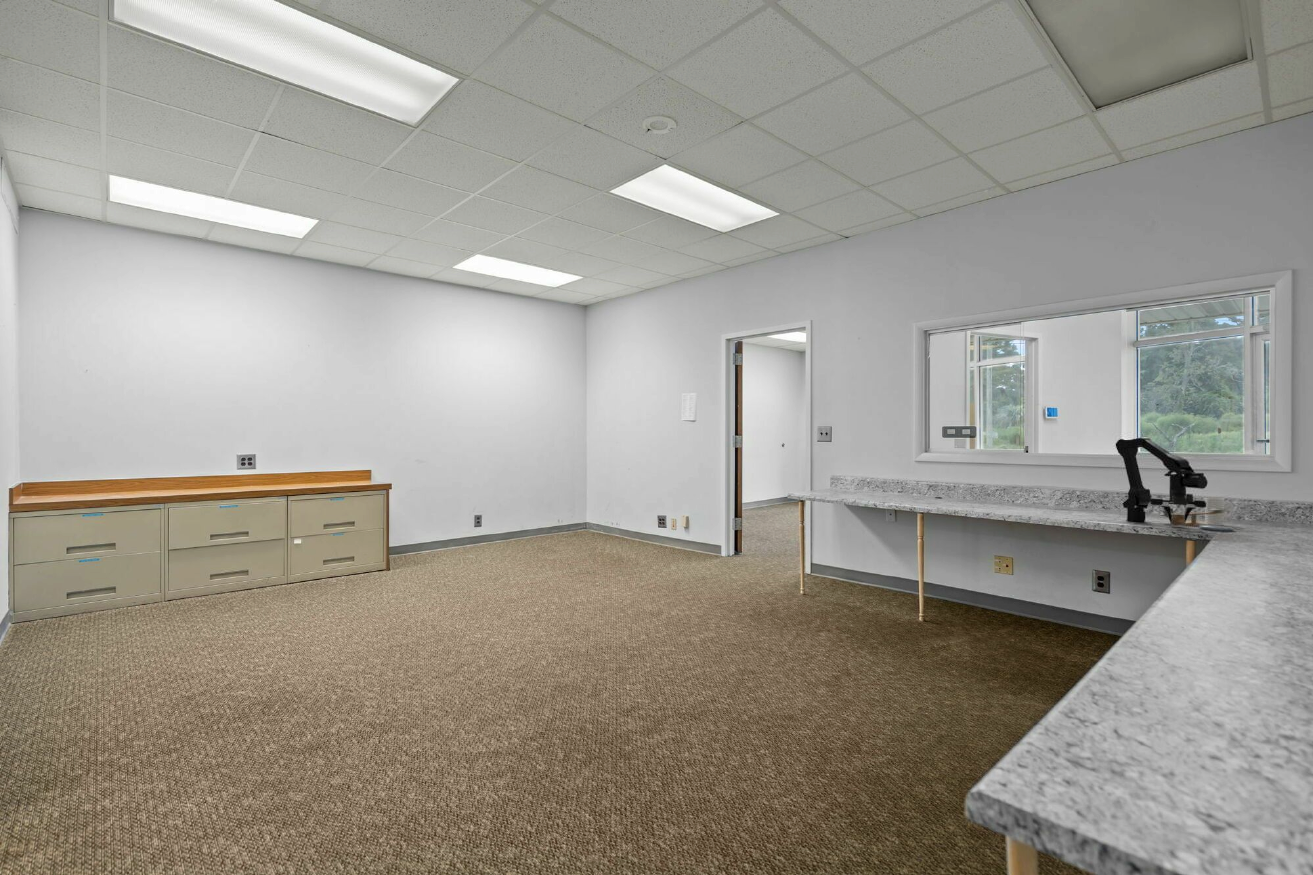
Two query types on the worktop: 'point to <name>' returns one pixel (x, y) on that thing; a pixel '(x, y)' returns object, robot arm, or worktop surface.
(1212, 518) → the mug
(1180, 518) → the block
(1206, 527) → the dish
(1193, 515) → the balance
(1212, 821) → the worktop surface
